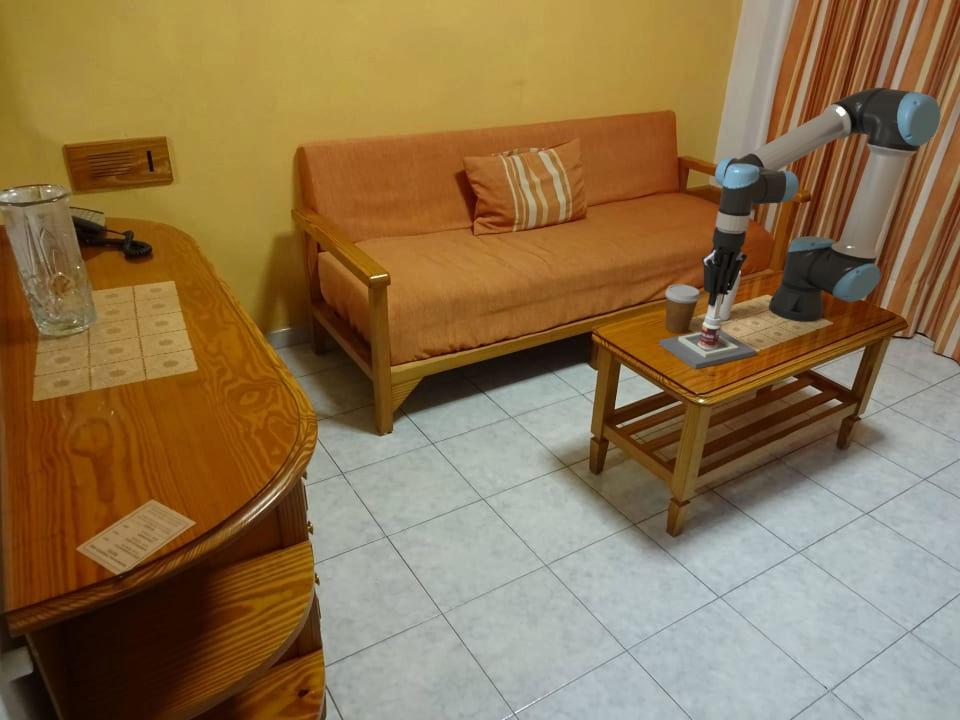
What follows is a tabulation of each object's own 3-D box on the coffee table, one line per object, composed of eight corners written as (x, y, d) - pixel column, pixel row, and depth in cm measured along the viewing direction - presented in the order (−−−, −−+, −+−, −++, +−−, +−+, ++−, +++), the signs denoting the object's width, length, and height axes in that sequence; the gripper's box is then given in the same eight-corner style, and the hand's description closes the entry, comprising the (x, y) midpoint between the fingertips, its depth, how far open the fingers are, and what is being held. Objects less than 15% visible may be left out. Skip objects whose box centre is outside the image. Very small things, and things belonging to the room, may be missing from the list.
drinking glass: (734, 322, 200) (744, 274, 193) (711, 322, 200) (720, 274, 193) (727, 313, 206) (737, 266, 199) (705, 312, 206) (714, 266, 199)
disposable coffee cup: (669, 319, 202) (675, 281, 196) (699, 328, 196) (706, 289, 191) (653, 329, 195) (659, 290, 189) (684, 339, 190) (691, 299, 184)
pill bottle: (695, 345, 183) (700, 316, 179) (703, 339, 186) (708, 311, 182) (712, 350, 180) (717, 322, 176) (720, 344, 183) (725, 316, 179)
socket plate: (716, 332, 194) (718, 325, 193) (755, 355, 182) (757, 347, 180) (659, 344, 186) (660, 336, 185) (695, 369, 174) (697, 360, 173)
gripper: (740, 222, 173) (722, 307, 185) (699, 227, 169) (683, 314, 180) (761, 230, 167) (741, 318, 178) (720, 236, 163) (702, 325, 174)
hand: (712, 316), depth 179 cm, fingers closed
